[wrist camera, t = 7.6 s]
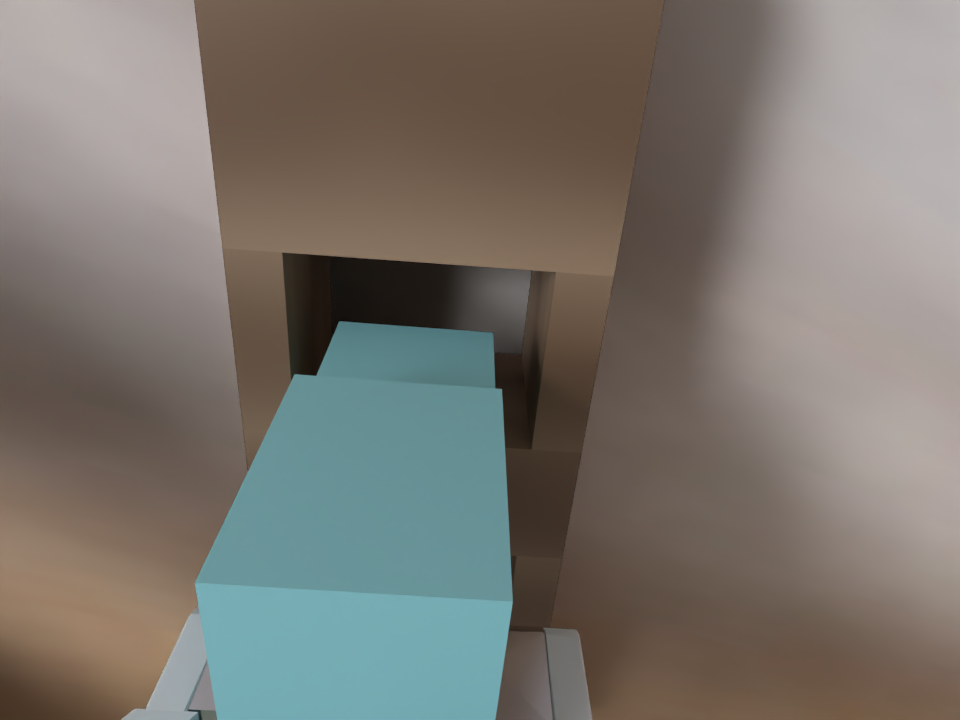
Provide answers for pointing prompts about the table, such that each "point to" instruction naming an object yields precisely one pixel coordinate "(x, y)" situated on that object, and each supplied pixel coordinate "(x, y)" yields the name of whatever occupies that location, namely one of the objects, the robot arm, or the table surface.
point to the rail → (432, 196)
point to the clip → (369, 540)
